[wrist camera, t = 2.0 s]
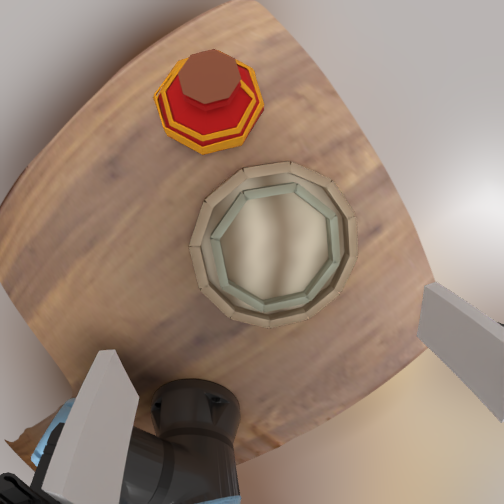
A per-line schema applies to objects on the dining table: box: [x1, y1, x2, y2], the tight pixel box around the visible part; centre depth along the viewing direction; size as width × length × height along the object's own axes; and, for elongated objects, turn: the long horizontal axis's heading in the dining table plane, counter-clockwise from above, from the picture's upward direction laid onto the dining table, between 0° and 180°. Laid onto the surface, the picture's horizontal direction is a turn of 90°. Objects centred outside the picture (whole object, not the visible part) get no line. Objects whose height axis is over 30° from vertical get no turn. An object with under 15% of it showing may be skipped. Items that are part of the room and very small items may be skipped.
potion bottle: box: [153, 49, 264, 155], centre depth 22 cm, size 10×10×15 cm
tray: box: [189, 161, 358, 329], centre depth 34 cm, size 20×20×3 cm
